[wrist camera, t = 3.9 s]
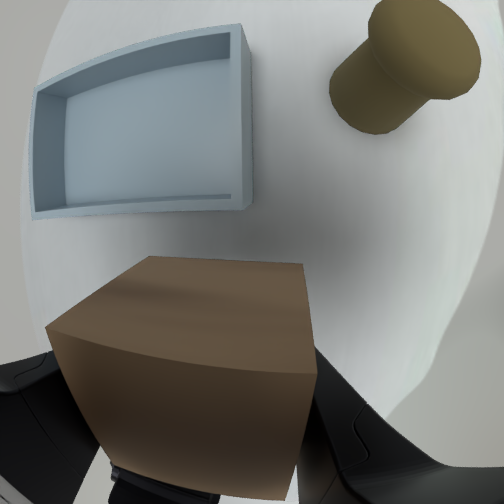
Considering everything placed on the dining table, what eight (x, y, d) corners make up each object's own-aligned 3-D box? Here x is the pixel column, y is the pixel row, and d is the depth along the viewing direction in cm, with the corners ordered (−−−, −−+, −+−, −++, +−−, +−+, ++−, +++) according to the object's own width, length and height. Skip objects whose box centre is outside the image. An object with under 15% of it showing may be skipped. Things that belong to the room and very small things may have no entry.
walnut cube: (290, 386, 10) (284, 500, 5) (166, 372, 10) (113, 464, 5) (302, 263, 8) (317, 373, 4) (149, 255, 9) (44, 327, 4)
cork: (349, 144, 17) (422, 111, 7) (315, 68, 16) (338, -27, 5) (419, 124, 16) (519, 95, 5) (385, 53, 15) (451, -22, 4)
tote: (253, 202, 19) (242, 210, 15) (66, 210, 21) (31, 220, 17) (251, 53, 16) (240, 23, 12) (67, 95, 18) (34, 87, 14)
